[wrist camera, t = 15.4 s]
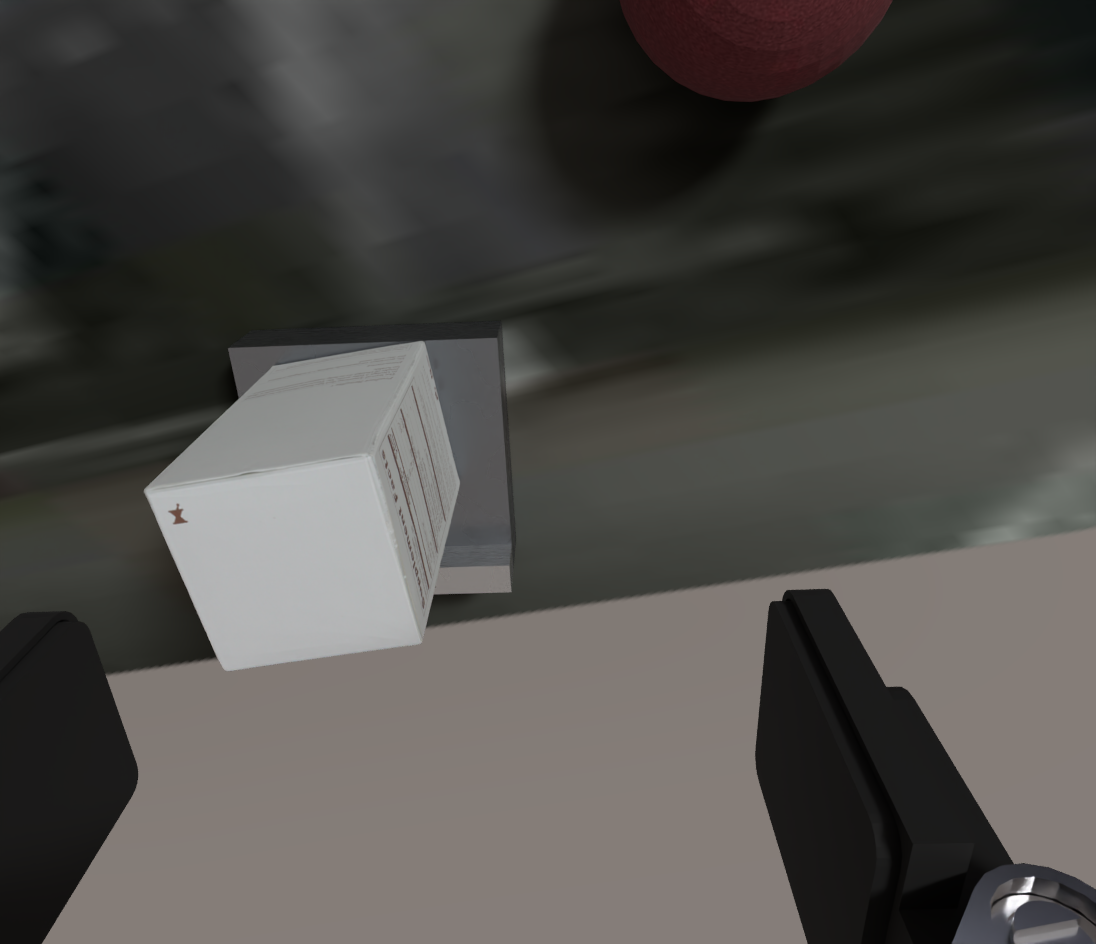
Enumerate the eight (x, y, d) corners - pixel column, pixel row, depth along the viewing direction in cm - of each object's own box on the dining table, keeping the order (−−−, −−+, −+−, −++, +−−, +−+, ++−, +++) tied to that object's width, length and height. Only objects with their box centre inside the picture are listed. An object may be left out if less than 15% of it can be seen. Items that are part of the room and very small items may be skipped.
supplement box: (316, 506, 38) (214, 678, 27) (269, 361, 35) (132, 485, 24) (465, 485, 38) (425, 651, 26) (430, 336, 35) (369, 450, 23)
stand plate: (251, 330, 38) (209, 361, 33) (501, 320, 37) (493, 350, 33) (295, 546, 43) (265, 599, 38) (515, 539, 42) (511, 592, 38)
